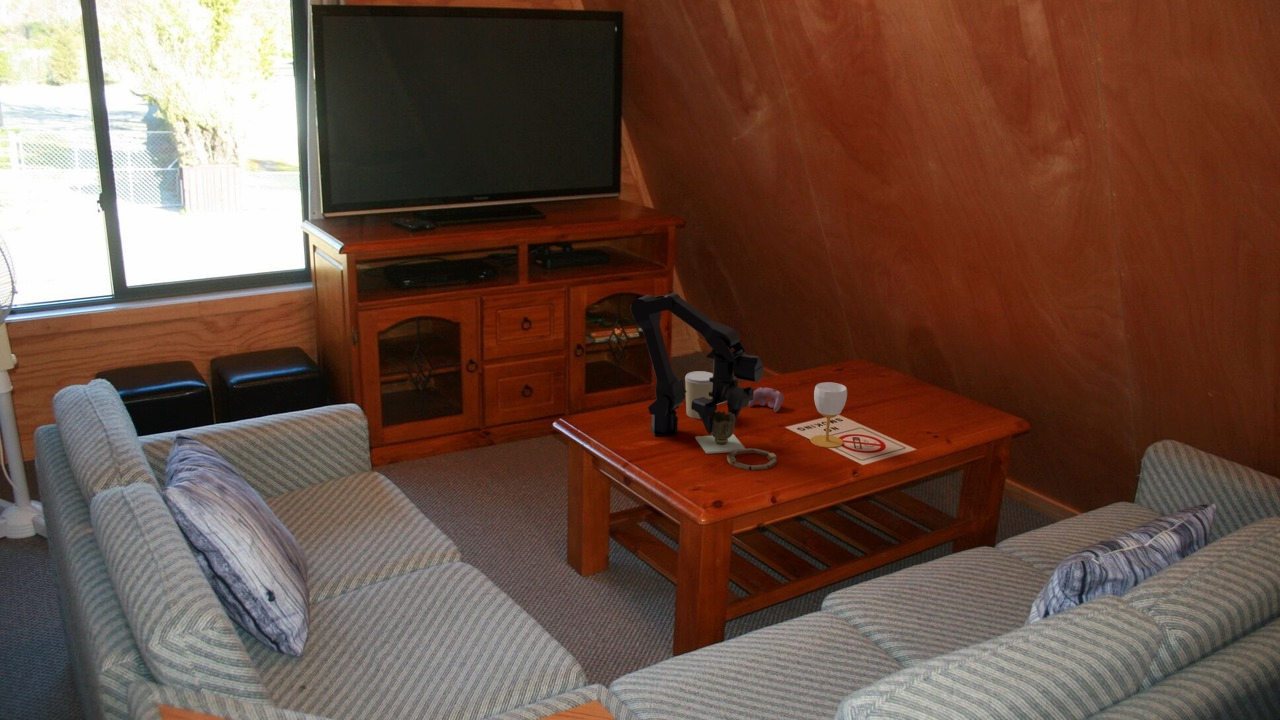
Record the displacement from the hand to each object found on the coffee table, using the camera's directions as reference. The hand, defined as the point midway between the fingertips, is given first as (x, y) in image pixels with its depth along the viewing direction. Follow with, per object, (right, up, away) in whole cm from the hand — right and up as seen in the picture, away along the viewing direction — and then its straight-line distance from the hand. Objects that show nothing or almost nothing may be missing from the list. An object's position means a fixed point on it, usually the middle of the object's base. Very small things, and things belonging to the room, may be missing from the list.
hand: (720, 429), depth 285 cm
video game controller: (+16, +4, +31) cm, 35 cm away
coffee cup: (-4, +3, +24) cm, 24 cm away
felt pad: (0, -4, +1) cm, 4 cm away
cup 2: (+30, -4, +5) cm, 31 cm away
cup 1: (0, -4, +1) cm, 4 cm away
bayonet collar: (+8, -8, -9) cm, 14 cm away
